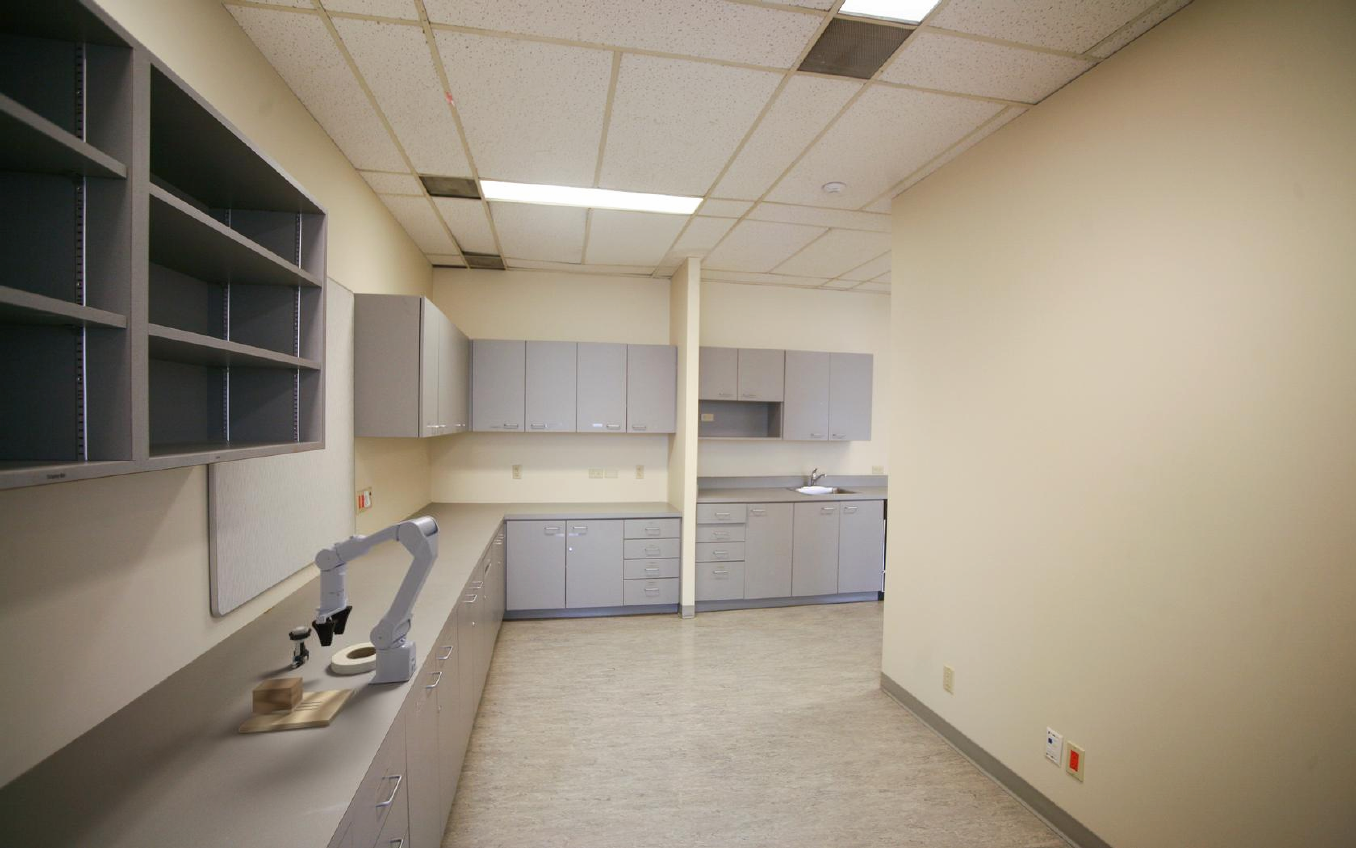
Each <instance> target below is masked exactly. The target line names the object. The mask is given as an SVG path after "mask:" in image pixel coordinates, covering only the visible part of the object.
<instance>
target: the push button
mask: <svg viewBox="0 0 1356 848" xmlns="http://www.w3.org/2000/svg"><path fill="white" fill-rule="evenodd" d="M312 632H313V630H312V628H310V627H309V626H308V625H300V626H297V627H294V628H293V629H292V630H291V631H289V633H288V636H289V640H290V641H292V642H295V645H294V646H295V648H294V651H293V657H292V664H291V665H292V667H291V668H292V669H295V668H297V667H301V666H302V665H303V664H304V663H307V661H308V660H309V658H310V650H309V649H307V648H306V640H307V639H308V638H309V637H311V634H312Z"/></svg>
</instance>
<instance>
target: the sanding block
mask: <svg viewBox="0 0 1356 848" xmlns="http://www.w3.org/2000/svg"><path fill="white" fill-rule="evenodd" d="M303 683H304V682H303V676H299V677H286V678H275V679H265V680H264V681H262V682H261V683H260V684H259V685H257V686H256V687H255V688H254V689H253V690H252V716H253V717H254V716H264V715H275V714H286V713H292V712H293V711H294V710H295V709H296V708H297V707H298V706H299V705H300V704H301V703H302V702H303V693H304V692H303V688H304V687H303Z"/></svg>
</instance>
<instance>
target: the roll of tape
mask: <svg viewBox="0 0 1356 848" xmlns="http://www.w3.org/2000/svg"><path fill="white" fill-rule="evenodd" d="M364 656H366V657H364ZM359 657H362V658H359ZM330 659H331V660H330V665H331V667H330V669H331V671H332V672H334V673H335V674H341V675H353V674H361V673H366V672H369V671H373V670H376V649H375V646H373V644H372V643H371V641H368V642H362V643H357V644H353V645H351V646H347V647H345V648H343V649H341V650H339V651H337V652H336V653H334V654H333V655H332V657H331V658H330Z"/></svg>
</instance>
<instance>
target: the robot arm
mask: <svg viewBox="0 0 1356 848" xmlns="http://www.w3.org/2000/svg"><path fill="white" fill-rule="evenodd" d="M440 532H441V529H440V527H439V525H438V522H437V521H436V519H435V518H433V517H432V516H430V515H422V516H420V517H419V518H412V519H409V520H405V521H401V522H399V523H398V522H397V523H395V524H392V525H390V526H388V527H385V528H382V529H381V530H379V531H377V532H375V533H372V534H370V535H368V536H366V535H364V534H359V535H358V534H356V533H355V534H353V535H350V536H349V538H348V539H346V540H344V541H342V542H341V541H337V542H335V543H334V544H333V546H330V547H328V548H327V547H326V548H322V549H321V550H320V551H318V552H317V554H316V555H315V557H314V562H315V565H316V567H317V568H318V569H319V570H320V576H319V577H320V580H319V581H320V587H319V588H320V589H319V590H320V593H319V595H320V599H319V600H320V601H319V602H320V604H319V605H318V606H317V607H315V611H316V612H318V614H317V615H316V616H315V619H314V620H313V621H312V622H311V626H312V628H313V629H314V631H315V632H316V634H317V637H318V639H319V643H320V645H321V647H330V646H331V645H332V643H333V636H337V635H344V633H345V629H346V626H347V621H348V618H349V616H350V614H351V612H352V610H353V606H352V605H349V597H347V596H346V569H347V565H348V563H350V562H352V561H355V560H357V559H360V558H361V557H363V556H367V555H368V554H370V552H371V550H372V548H373V547H375V546H378V545H380V544H383V543H385V542H387V541H390V540H393V541H395V542H400V543H401V544H402V545H403V547H405V548H406V550H407V551H408V552H409V553H410V554H411V556H412V557H413V559H412V562H411V564H410V566H409V567H408V570H407V572H406V574H405V577H404V579H403V581H402V583H401V585H400V587H399V589H398V591H397V593H396V595H395V598H394V599H393V602H392V603H391V605H390V607H389V609H388V611H387V612H386V613H385V614H384V615H383V616H382V618H381V619H380V620H379V621H378V624H377V625H376V626H375V627H373V628H372V629H371V631H370V634H369V640H370V641H369V642H371V643H372V644H373V646H375V649H376V669H375V674H374V676H373V677H372V678H371V680H370V681H369V684H370V685H372V684H375V685H376V684H384V683H386V684H387V683H395V682H396V683H397V682H407V681H409V680H410V679H411V677H412V675H413V674H414V673H415V671H416V669H417V668H418V666H417V644H416V642H415V641H408V640H407V634H408V633H409V632H410V630H411V628H412V620H413V616H414V613H413V612H412V610H413V608H414V607H415V604H416V603H417V600H418V598H419V596H420V594H421V592H422V590H423V589H424V585H425V583H426V581H427V579H428V577H429V575H430V573H431V571H432V569H433V567H434V564H435V563H436V561H437V558H438V556H439V534H440Z"/></svg>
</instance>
